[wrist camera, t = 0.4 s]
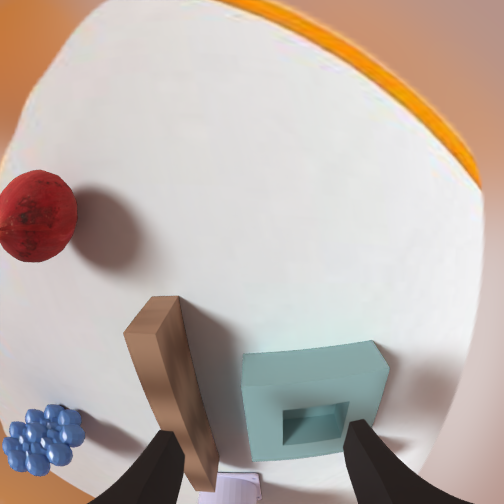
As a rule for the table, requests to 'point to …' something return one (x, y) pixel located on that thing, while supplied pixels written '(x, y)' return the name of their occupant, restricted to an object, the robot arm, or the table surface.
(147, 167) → the table surface
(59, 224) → the onion
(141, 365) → the wall
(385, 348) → the table surface
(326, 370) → the block
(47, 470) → the grapes
